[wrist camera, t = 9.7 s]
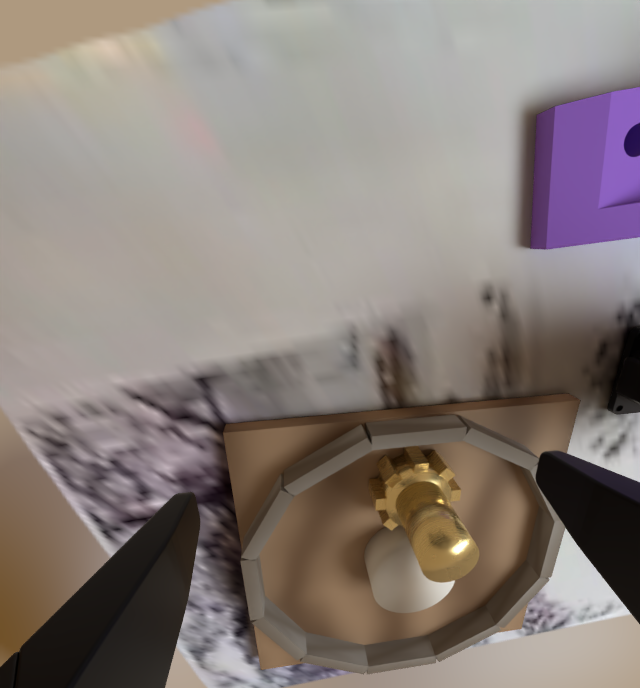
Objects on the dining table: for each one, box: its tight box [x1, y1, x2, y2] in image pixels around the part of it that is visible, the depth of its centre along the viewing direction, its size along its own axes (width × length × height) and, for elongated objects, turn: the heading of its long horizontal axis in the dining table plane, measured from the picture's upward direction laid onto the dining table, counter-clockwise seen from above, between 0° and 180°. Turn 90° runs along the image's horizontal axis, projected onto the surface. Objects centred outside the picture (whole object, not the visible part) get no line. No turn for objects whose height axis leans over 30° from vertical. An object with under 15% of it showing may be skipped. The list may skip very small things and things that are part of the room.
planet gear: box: [368, 446, 479, 583], centre depth 20 cm, size 6×6×6 cm
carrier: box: [223, 393, 580, 674], centre depth 24 cm, size 24×24×4 cm
